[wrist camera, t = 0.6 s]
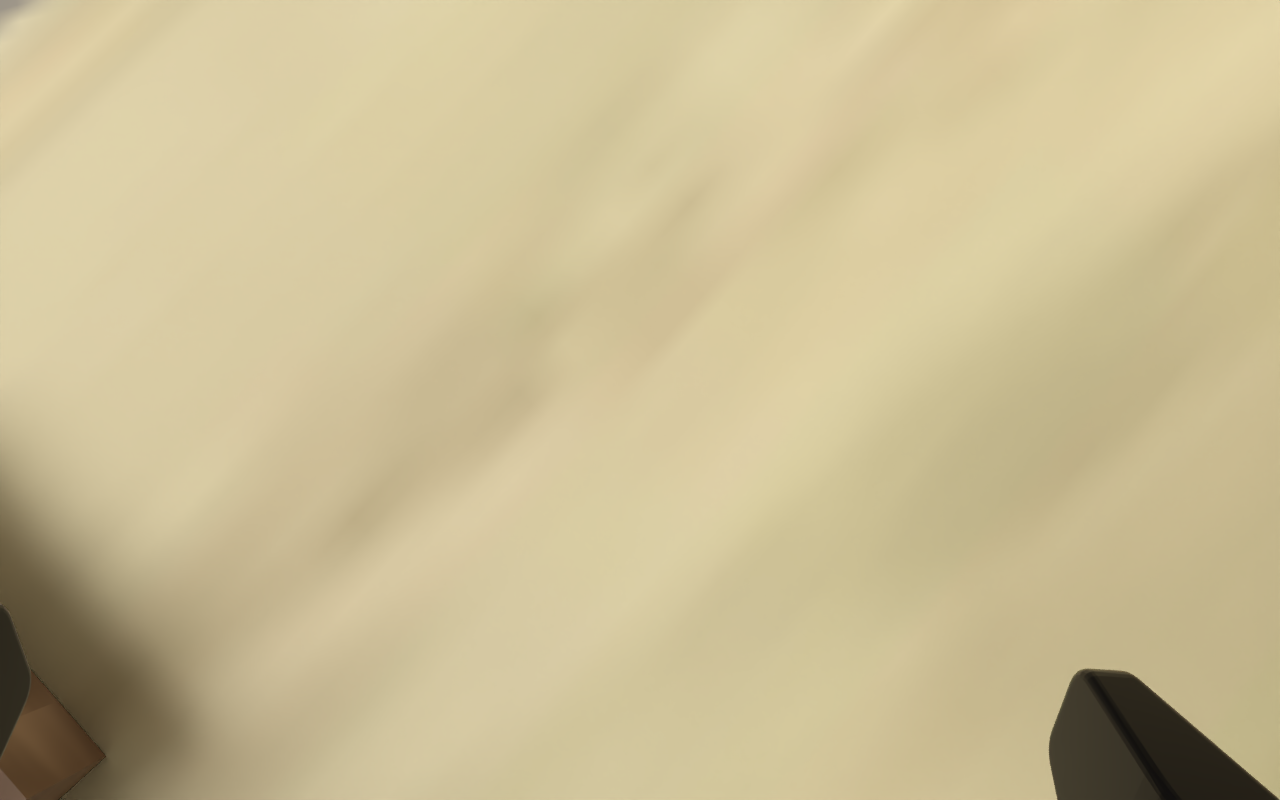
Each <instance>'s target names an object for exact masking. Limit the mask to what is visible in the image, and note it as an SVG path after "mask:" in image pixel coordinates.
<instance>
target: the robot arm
mask: <svg viewBox="0 0 1280 800" xmlns="http://www.w3.org/2000/svg"><path fill="white" fill-rule="evenodd" d="M30 688H31V670H30V666H29V664H28V661H27V658H26V655H25V653H24V650H23V647H22V644H21V642H20V639H19V636H18V633H17V631H16V628H15V625H14V622H13V620H12V617H11V614H10V612H9V611H8V609H7V608H6V607H5V606H3V605H2V604H1V603H0V760H1V757H2V755H3V753H4V751H5V748H6V746H7V744H8V742H9V740H10V737H11V735H12V733H13V731H14V729H15V726H16V724H17V722H18V720H19V717H20V715H21V713H22V711H23V709H24V706H25V704H26V702H27V699H28V696H29V692H30ZM1049 759H1050V766H1051V771H1052V775H1053V780H1054V785H1055V790H1056V795H1057V800H1279V799H1278V798H1277V797H1276V796H1275V795H1274V794H1272V793H1271V792H1270V791H1269V790H1268V789H1267V788H1265V787H1264V786H1263V785H1262V784H1261V783H1260V782H1258V781H1257V780H1256V779H1255V778H1254V777H1253V776H1251V775H1250V774H1249V773H1248V772H1247V771H1246V770H1244V769H1243V768H1242V767H1241V766H1240V765H1239V764H1237V763H1236V762H1235V761H1234V760H1233V759H1232V758H1230V757H1229V756H1228V755H1227V754H1226V753H1225V752H1223V751H1222V750H1221V749H1220V748H1219V747H1218V746H1216V745H1215V744H1214V743H1213V742H1212V741H1211V740H1209V739H1208V738H1207V737H1206V736H1205V735H1204V734H1202V733H1201V732H1200V731H1199V730H1198V729H1197V728H1195V727H1194V726H1193V725H1192V724H1191V723H1190V722H1188V721H1187V720H1186V719H1185V718H1184V717H1183V716H1181V715H1180V714H1179V713H1178V712H1177V711H1176V710H1174V709H1173V708H1172V707H1171V706H1170V705H1169V704H1167V703H1166V702H1165V701H1164V700H1163V699H1162V698H1160V697H1159V696H1158V695H1157V694H1156V693H1155V692H1153V691H1152V690H1151V689H1150V688H1149V687H1148V686H1146V685H1145V684H1144V683H1143V682H1142V681H1141V680H1139V679H1138V678H1137V677H1135V676H1134V675H1132V674H1130V673H1128V672H1124V671H1116V670H1100V669H1083V670H1080V671H1078V672H1077V673H1076V674H1075V675H1074V676H1073V678H1072V680H1071V682H1070V684H1069V687H1068V690H1067V692H1066V695H1065V698H1064V700H1063V703H1062V706H1061V708H1060V711H1059V713H1058V716H1057V719H1056V721H1055V724H1054V727H1053V729H1052V732H1051V736H1050V742H1049Z"/></svg>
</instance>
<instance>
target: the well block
mask: <svg viewBox="0 0 1280 800" xmlns="http://www.w3.org/2000/svg"><path fill="white" fill-rule="evenodd" d="M105 757H106V756H105V755H104V753H103V752H102V751H101V750H100V749H99V748H98V747H97V745H96V744H95V743H94V742H93V741H92V740H91V739H90V737H89V736H88V735H87V734H86V733H85V732H84V730H83V729H82V728H81V727H80V726H79V725H78V724H77V722H76V721H75V720H74V719H73V718H72V717H71V716H70V714H69V713H68V712H67V711H66V710H65V709H64V708H63V706H62V705H61V704H60V703H59V702H58V701H57V699H56V698H55V697H54V696H53V695H52V694H51V693H50V691H49V690H48V689H47V688H46V687H45V686H44V685H43V683H42V682H41V681H40V680H39V679H38V678H37V677H36V675H35V674H34V673H33V672H32V671H31V688H30V692H29V696H28V699H27V702H26V704H25V706H24V709H23V711H22V713H21V715H20V717H19V720H18V722H17V724H16V726H15V729H14V731H13V733H12V735H11V737H10V740H9V742H8V744H7V746H6V748H5V751H4V753H3V755H2V757H1V760H0V800H59V799H60V798H61V797H62V796H63V795H64V794H65V793H67V792H68V791H69V790H70V789H71V788H72V787H73V786H74V785H75V784H76V783H77V782H79V781H80V780H81V779H82V778H83V777H84V776H85V775H86V774H87V773H88V772H89V771H91V770H92V769H93V768H94V767H95V766H96V765H97V764H98V763H99V762H100V761H102V760H103V759H104V758H105Z"/></svg>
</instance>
